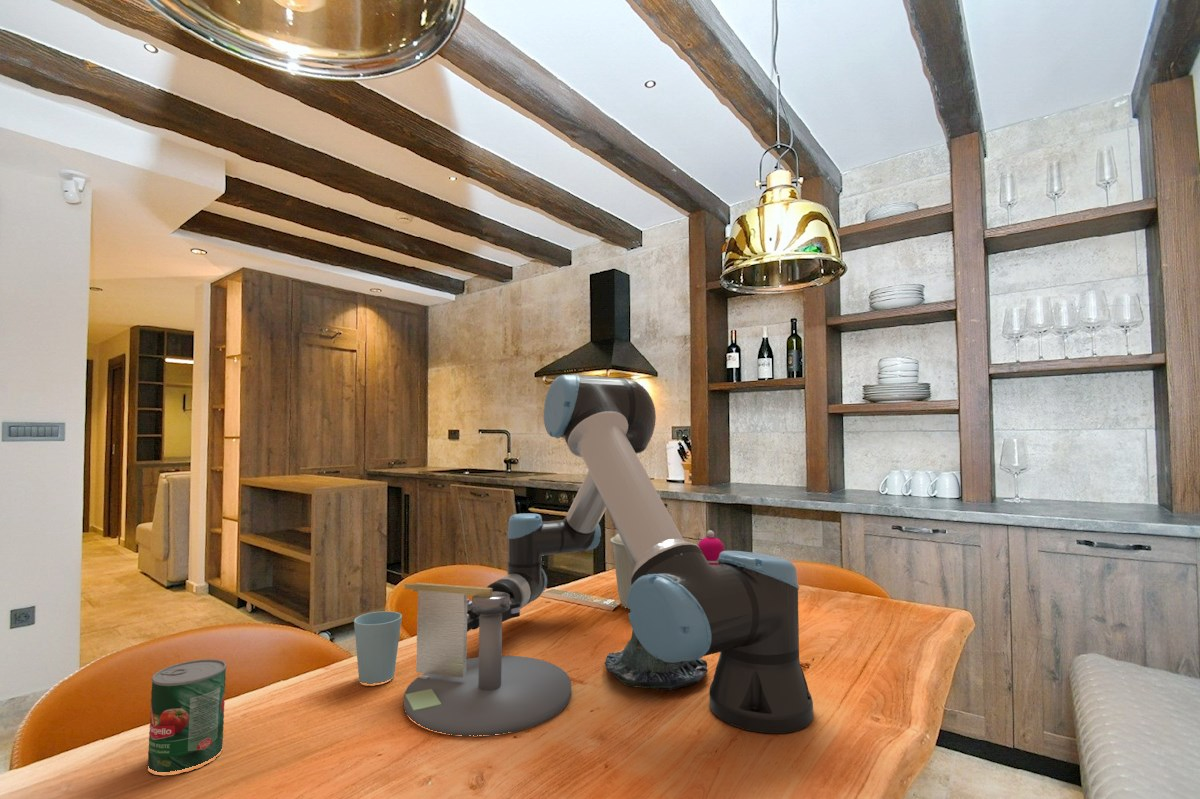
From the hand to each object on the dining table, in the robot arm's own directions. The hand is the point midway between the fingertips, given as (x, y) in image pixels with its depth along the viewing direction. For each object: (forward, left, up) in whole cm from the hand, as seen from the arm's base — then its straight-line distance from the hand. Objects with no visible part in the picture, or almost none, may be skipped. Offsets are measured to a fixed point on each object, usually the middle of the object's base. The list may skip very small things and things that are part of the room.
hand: (446, 633), depth 96 cm
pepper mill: (+11, -62, -9) cm, 63 cm away
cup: (+7, +10, -9) cm, 15 cm away
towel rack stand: (-3, -1, -6) cm, 7 cm away
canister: (+25, -53, -9) cm, 59 cm away
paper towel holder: (-7, -6, -9) cm, 12 cm away
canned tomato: (-9, +34, -9) cm, 36 cm away
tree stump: (-10, -34, -9) cm, 37 cm away
